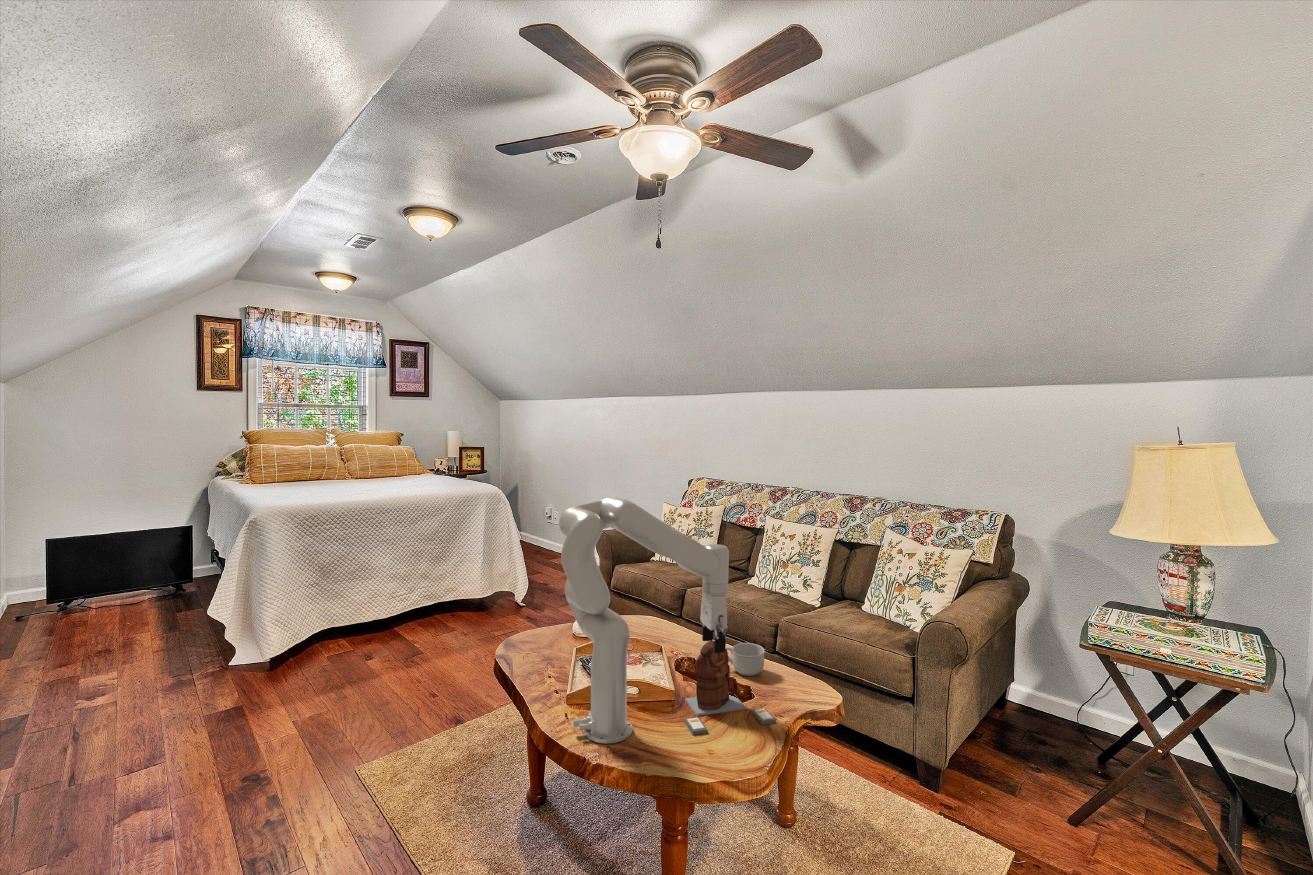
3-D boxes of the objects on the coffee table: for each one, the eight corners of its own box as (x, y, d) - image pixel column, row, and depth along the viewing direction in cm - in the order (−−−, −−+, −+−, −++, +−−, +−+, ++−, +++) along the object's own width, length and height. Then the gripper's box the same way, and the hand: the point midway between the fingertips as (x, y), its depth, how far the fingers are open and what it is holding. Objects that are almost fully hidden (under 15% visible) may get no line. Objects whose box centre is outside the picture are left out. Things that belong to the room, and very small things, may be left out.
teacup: (769, 670, 194) (769, 646, 194) (756, 681, 185) (756, 656, 185) (731, 661, 202) (731, 638, 202) (717, 672, 193) (717, 648, 193)
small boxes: (692, 734, 152) (692, 730, 152) (684, 722, 159) (684, 717, 159) (775, 722, 159) (775, 718, 159) (764, 711, 165) (764, 706, 165)
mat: (696, 715, 162) (696, 713, 162) (685, 700, 172) (685, 698, 172) (746, 709, 166) (746, 707, 166) (732, 694, 176) (732, 692, 176)
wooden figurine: (712, 714, 162) (712, 650, 162) (693, 707, 166) (693, 644, 166) (733, 699, 172) (734, 638, 172) (715, 693, 176) (715, 633, 175)
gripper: (693, 581, 176) (691, 637, 176) (713, 595, 160) (712, 658, 160) (716, 580, 178) (714, 635, 178) (739, 594, 162) (737, 656, 162)
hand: (713, 646), depth 169 cm, fingers open, 9 cm apart
